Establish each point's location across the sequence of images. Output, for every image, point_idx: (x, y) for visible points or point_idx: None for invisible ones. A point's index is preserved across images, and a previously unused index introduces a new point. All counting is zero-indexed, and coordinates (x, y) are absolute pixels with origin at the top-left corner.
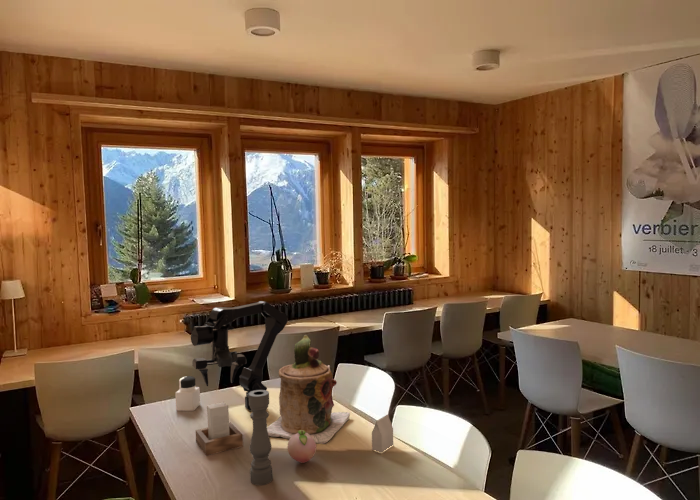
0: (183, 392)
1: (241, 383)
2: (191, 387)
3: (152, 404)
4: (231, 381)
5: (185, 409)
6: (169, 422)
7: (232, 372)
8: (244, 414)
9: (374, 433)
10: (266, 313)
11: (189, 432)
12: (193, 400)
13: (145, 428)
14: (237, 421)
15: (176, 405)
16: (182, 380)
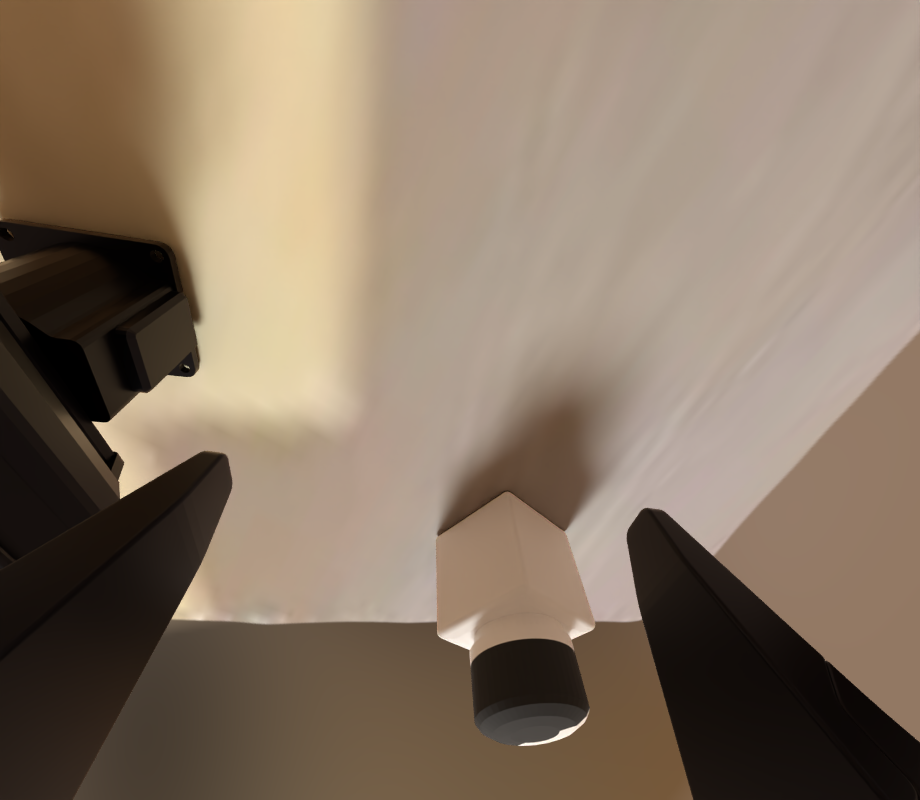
0: (564, 614)
1: (82, 493)
2: (522, 637)
3: None
4: (213, 483)
5: (537, 515)
6: (693, 427)
7: (44, 692)
8: (239, 228)
9: None
10: None
11: (766, 178)
12: (514, 541)
13: (818, 428)
14: (350, 101)
15: (572, 554)
16: (583, 713)
